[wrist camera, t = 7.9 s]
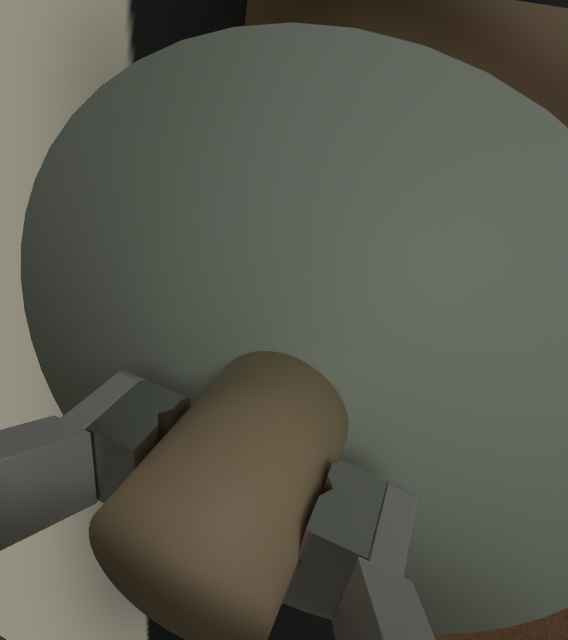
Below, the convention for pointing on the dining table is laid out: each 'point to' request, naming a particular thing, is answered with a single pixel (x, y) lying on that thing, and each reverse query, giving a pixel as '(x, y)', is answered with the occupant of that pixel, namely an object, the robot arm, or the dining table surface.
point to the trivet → (456, 35)
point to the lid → (315, 316)
